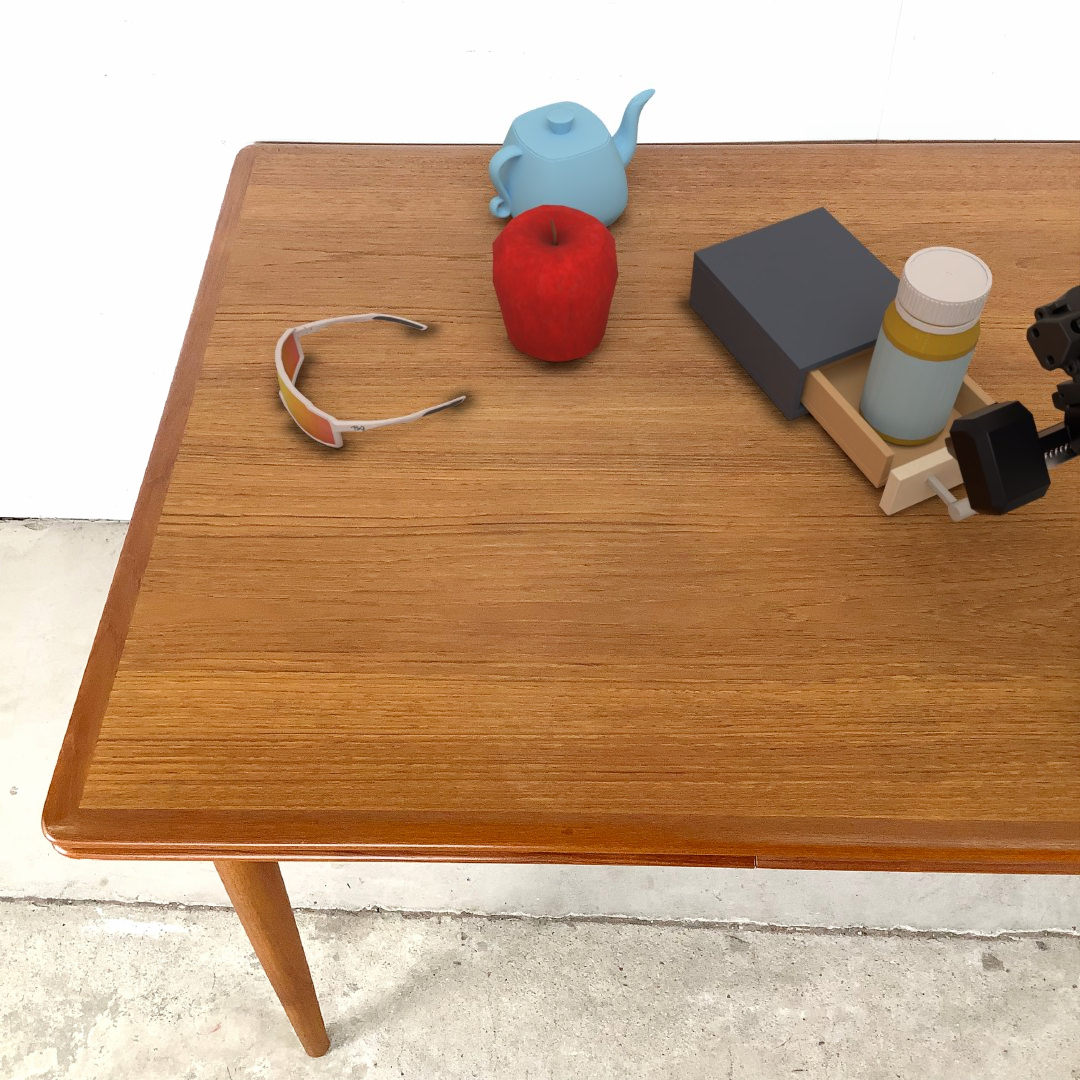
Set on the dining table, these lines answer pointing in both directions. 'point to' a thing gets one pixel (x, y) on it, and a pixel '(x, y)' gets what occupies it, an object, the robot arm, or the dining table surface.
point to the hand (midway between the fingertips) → (1001, 422)
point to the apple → (555, 281)
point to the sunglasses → (303, 410)
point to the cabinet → (792, 300)
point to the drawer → (896, 466)
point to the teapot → (566, 161)
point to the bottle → (925, 345)
